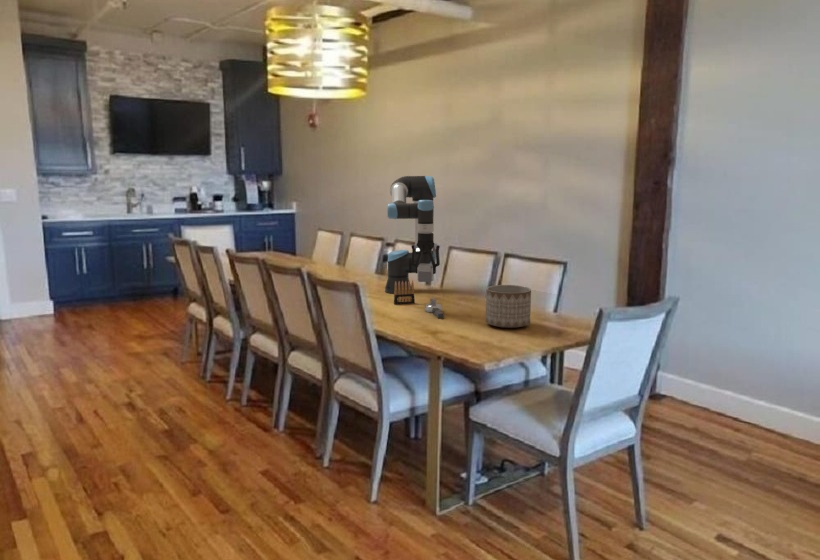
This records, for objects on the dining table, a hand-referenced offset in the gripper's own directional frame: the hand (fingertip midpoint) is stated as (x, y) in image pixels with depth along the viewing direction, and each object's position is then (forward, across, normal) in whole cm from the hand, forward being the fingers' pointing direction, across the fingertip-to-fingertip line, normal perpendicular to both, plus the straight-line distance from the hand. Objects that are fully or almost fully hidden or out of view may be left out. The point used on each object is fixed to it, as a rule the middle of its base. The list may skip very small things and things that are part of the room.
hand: (425, 280), depth 298 cm
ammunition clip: (+15, -14, +15) cm, 25 cm away
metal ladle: (+15, +6, -5) cm, 17 cm away
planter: (+16, +40, -22) cm, 48 cm away
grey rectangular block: (0, 0, 0) cm, 0 cm away
